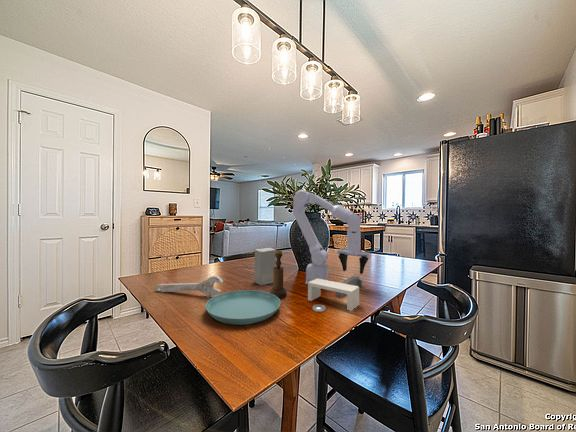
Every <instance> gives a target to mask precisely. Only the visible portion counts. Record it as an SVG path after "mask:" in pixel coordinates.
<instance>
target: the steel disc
mask: <svg viewBox="0 0 576 432" xmlns="http://www.w3.org/2000/svg"><path fill="white" fill-rule="evenodd" d="M326 310H327V308H326V305H323V304H313V305H312V311H314V312H316V313H324V312H326Z"/></svg>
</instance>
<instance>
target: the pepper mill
mask: <svg viewBox="0 0 576 432" xmlns="http://www.w3.org/2000/svg"><path fill="white" fill-rule="evenodd" d="M275 256H276V267H274V268H273V283H272V287H271V289H269V293H270V294H273V295H275V296H276V297H278V298H279V300H281V299H285V298H286V297H287V294H288V292H287V289H286V288H285V287H284V267H283V266H282V261H281V259H282V257H283V251H282V250H281V249H278V250H276V252H275Z"/></svg>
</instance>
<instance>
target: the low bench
mask: <svg viewBox="0 0 576 432" xmlns="http://www.w3.org/2000/svg"><path fill="white" fill-rule="evenodd" d="M321 289H323V290H327V291H331V292H335V293H336V292H340V293H344V294H345V295H346V296H347V297H346V298H347V299H346V301H347V303H346V305H347V306H346V307H347V308H346V310H350V311H349V312H351V311H352V310H353V309H354V308H355V309H357V308H358V307H359V306H360V287H359V286H354V285H349V284H344V283H341V282H337V281H332V280H328V279H327V280H323V279H318V278H317V279H315V280H312V281H310V282H308V284H307V301H309V302H312V301H314V300H316V299H317V298H319V297H321V294H322V293H321V292H322V290H321ZM358 305H359V306H358ZM357 306H358V307H357ZM355 309H354V310H355ZM354 310H353V311H354ZM353 311H352V312H353Z"/></svg>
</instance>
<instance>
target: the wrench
mask: <svg viewBox="0 0 576 432" xmlns="http://www.w3.org/2000/svg"><path fill="white" fill-rule="evenodd" d="M215 283H216V284H219V285H222V284H223V283H224V280H223V279H222V278H221V277H220V276H218V275H212V276H210V277H209V278H206V279H205V280H203V281H201V282H189V283H186V282H184V283H182V282H181V283H160V284H158V285H156V287H155V290H156V292H157V291H159V290H161V292H160V293H170V292H171V293H172V292H173V293H174V292H196V291H197V292H200V293H203V294H204V295H205V296H206V298H210V297H212V296H217V295H220V294H221V290H220V289H218V288H215V285H214V284H215ZM160 288H161V289H160Z"/></svg>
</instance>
